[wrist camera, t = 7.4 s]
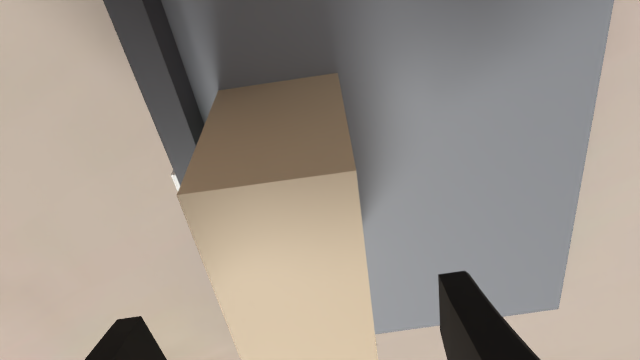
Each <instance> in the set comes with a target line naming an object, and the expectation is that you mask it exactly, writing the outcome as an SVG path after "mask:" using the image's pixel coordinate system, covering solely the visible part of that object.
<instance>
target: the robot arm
mask: <svg viewBox="0 0 640 360" xmlns="http://www.w3.org/2000/svg"><path fill="white" fill-rule="evenodd" d="M438 284H439V312H440V332H441V336H442V340H443V344H444V348H445V352H446V356H447V360H540V359H539V358H538V357H537V356H536V355H535V353H534V352H533V351H532V350H531V349H530V348H529V347H528V346H527V345H526V343H525V342H524V341H523V340H522V339H521V338H520V337H519V336H518V334H517V333H516V332H515V331H514V330H513V329H512V328H511V327H510V325H509V324H508V323H507V322H506V321H505V319H504V318H503V317H502V316H501V315H500V313H499V312H498V311H497V310H496V309H495V307H494V306H493V305H492V304H491V302H490V301H489V300H488V298H487V297H486V296H485V295H484V293H483V292H482V291H481V289H480V288H479V287H478V285H477V284H476V282H475V281H474V280H473V278H472V277H471V275H470V274H469V273H468V272H466V271H459V272H452V273H444V274H438ZM85 360H167V359H166V358H165V356H164V354H163V353H162V351H161V349H160V347H159V346H158V344H157V342H156V341H155V339H154V337H153V336H152V334H151V332H150V331H149V329H148V327H147V325H146V324H145V322H144V320H143V319H142V317H141V316H139V317H132V318H125V319H118V320H117V321H116V322H115V323H114V324H113V325H112V326H111V328H110V329H109V330H108V331H107V332H106V334H105V335H104V336H103V337H102V339H101V340H100V341H99V342H98V344H97V345H96V346H95V347H94V349H93V350H92V351H91V352H90V354H89V355H88V356H87V357H86V359H85Z"/></svg>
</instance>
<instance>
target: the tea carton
mask: <svg viewBox="0 0 640 360" xmlns="http://www.w3.org/2000/svg"><path fill="white" fill-rule="evenodd" d="M177 197H178V200H179V202H180V205H181V207H182V210H183V212H184V215H185V218H186V220H187V223H188V225H189V228H190V230H191V233H192V236H193V238H194V241H195V243H196V246H197V249H198V251H199V254H200V256H201V259H202V261H203V264H204V267H205V269H206V272H207V274H208V277H209V279H210V282H211V285H212V287H213V290H214V292H215V295H216V297H217V300H218V303H219V305H220V308H221V310H222V313H223V316H224V318H225V321H226V323H227V326H228V328H229V331H230V334H231V336H232V339H233V341H234V344H235V346H236V349H237V352H238V354H239V357H240V359H241V360H378V356H377V347H376V339H375V330H374V321H373V312H372V304H371V295H370V286H369V278H368V269H367V260H366V251H365V243H364V234H363V225H362V216H361V208H360V199H359V190H358V181H357V173H356V166H355V161H354V156H353V151H352V145H351V140H350V135H349V130H348V124H347V119H346V114H345V108H344V103H343V98H342V93H341V87H340V82H339V77H338V73H333V74H326V75H320V76H313V77H306V78H299V79H293V80H286V81H279V82H272V83H265V84H259V85H252V86H245V87H238V88H232V89H225V90H218V92H217V95H216V97H215V100H214V102H213V105H212V107H211V110H210V112H209V115H208V117H207V120H206V122H205V125H204V128H203V130H202V133H201V135H200V138H199V140H198V143H197V145H196V148H195V150H194V153H193V155H192V158H191V160H190V163H189V165H188V168H187V171H186V173H185V176H184V178H183V181H182V183H181V186H180V188H179V191H178V193H177Z"/></svg>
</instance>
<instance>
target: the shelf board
mask: <svg viewBox="0 0 640 360" xmlns="http://www.w3.org/2000/svg"><path fill="white" fill-rule="evenodd" d="M103 1H104V4H105V6H106V8H107V11H108V13H109V16H110V18H111V20H112V23H113V25H114V28H115V30H116V32H117V35H118V37H119V40H120V42H121V44H122V47H123V49H124V52H125V54H126V57H127V59H128V61H129V64H130V66H131V69H132V71H133V73H134V76H135V78H136V81H137V83H138V85H139V88H140V90H141V93H142V95H143V98H144V100H145V102H146V105H147V107H148V110H149V112H150V114H151V117H152V119H153V122H154V124H155V126H156V129H157V131H158V134H159V136H160V138H161V141H162V143H163V146H164V148H165V151H166V153H167V155H168V158H169V160H170V163H171V165H172V167H173V172H172V174H171V177H172V179H173V181H174V184H175V186H176V188H177V191H179V188H180V186H181V183H182V181H183V178H184V176H185V173H186V171H187V168H188V165H189V163H190V160H191V158H192V155H193V153H194V150H195V148H196V145H197V143H198V140H199V138H200V135H201V133H202V130H203V128H204V125H205V122H206V120H207V117H208V115H209V112H210V110H211V107H212V105H213V102H214V100H215V97H216V95H217V92H218V90H225V89H232V88H238V87H245V86H252V85H259V84H265V83H272V82H279V81H286V80H293V79H299V78H306V77H313V76H320V75H326V74H333V73H338V77H339V82H340V87H341V93H342V98H343V103H344V108H345V114H346V119H347V124H348V130H349V135H350V140H351V145H352V151H353V156H354V161H355V166H356V173H357V181H358V190H359V199H360V208H361V216H362V225H363V234H364V243H365V251H366V260H367V269H368V278H369V286H370V295H371V304H372V312H373V321H374V330H375V334H381V333H388V332H395V331H402V330H410V329H417V328H424V327H431V326H439V325H440V312H439V284H438V274H444V273H452V272H459V271H466V272H468V273H469V274H470V275H471V277H472V278H473V280H474V281H475V282H476V284H477V285H478V287H479V288H480V289H481V291H482V292H483V293H484V295H485V296H486V297H487V298H488V300H489V301H490V302H491V304H492V305H493V306H494V307H495V309H496V310H497V311H498V312H499V313H500V315H501V316H502V317H504V316H511V315H518V314H525V313H533V312H540V311H547V310H554V309H559V303H560V298H561V292H562V287H563V281H564V276H565V270H566V264H567V259H568V253H569V248H570V242H571V237H572V231H573V225H574V220H575V214H576V209H577V203H578V198H579V192H580V187H581V181H582V175H583V170H584V164H585V159H586V153H587V148H588V142H589V136H590V131H591V125H592V120H593V114H594V109H595V103H596V97H597V92H598V86H599V81H600V75H601V70H602V64H603V59H604V53H605V47H606V42H607V36H608V31H609V25H610V20H611V14H612V8H613V3H614V0H103Z"/></svg>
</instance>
